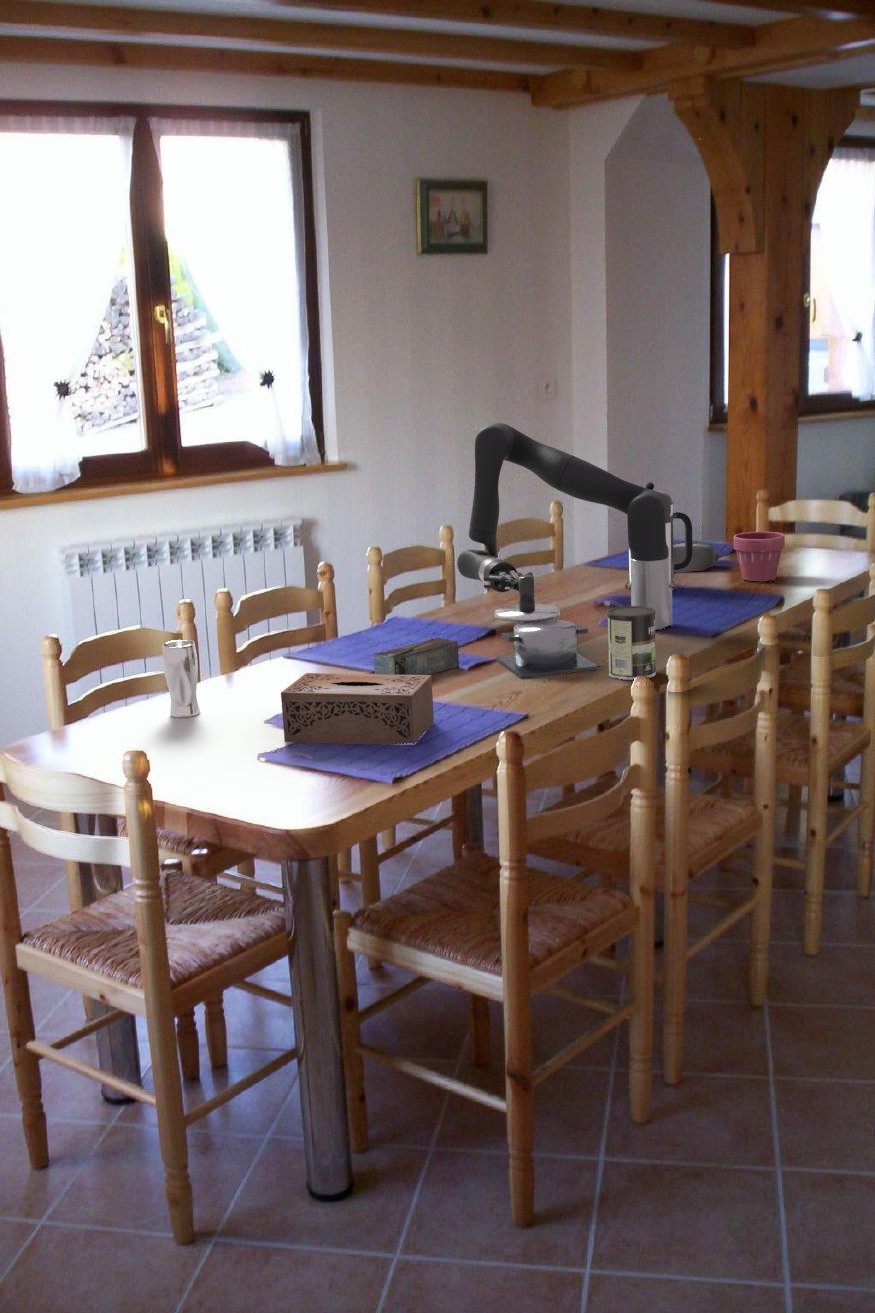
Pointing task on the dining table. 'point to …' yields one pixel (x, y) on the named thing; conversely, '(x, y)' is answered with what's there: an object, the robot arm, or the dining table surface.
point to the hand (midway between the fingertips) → (519, 586)
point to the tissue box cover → (357, 708)
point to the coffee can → (631, 642)
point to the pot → (545, 649)
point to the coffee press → (670, 539)
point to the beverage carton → (418, 658)
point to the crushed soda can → (181, 677)
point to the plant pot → (759, 554)
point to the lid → (527, 605)
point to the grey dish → (695, 557)
